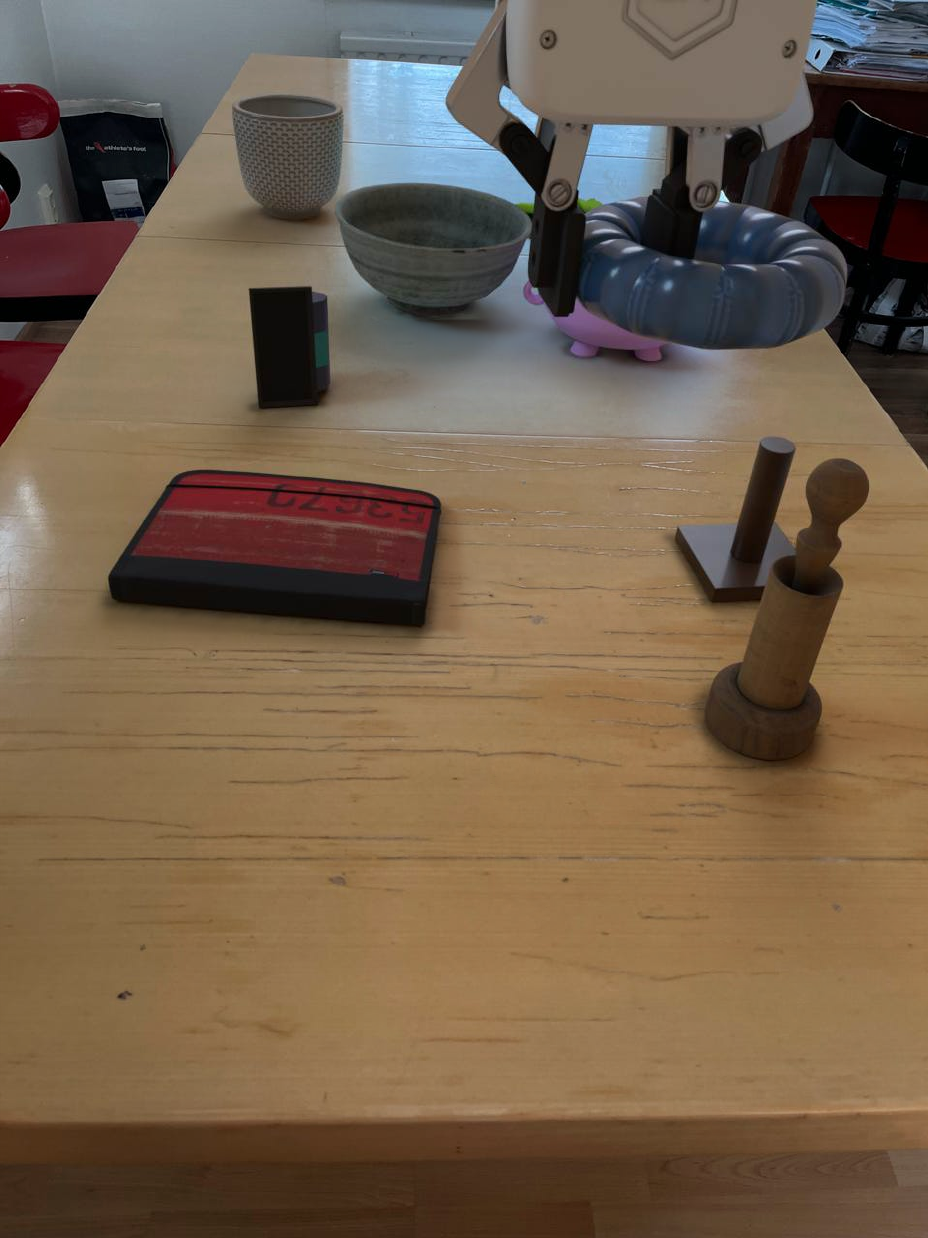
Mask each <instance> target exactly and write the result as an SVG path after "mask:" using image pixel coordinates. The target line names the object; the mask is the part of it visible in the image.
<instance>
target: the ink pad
mask: <svg viewBox="0 0 928 1238" xmlns="http://www.w3.org/2000/svg"><path fill="white" fill-rule="evenodd" d="M441 515H442V502H441V500H440V498H439V497H438V496H436V494H435V495H434V494H433V493H431V492H427V491H424V490H421V489H413V488H406V487H400V486H393V485H386V484H378V483H373V482H364V481H355V480H347V479H346V480H345V479H334V478H324V477H314V476H301V475H299V476H298V475H288V474H278V473H277V474H275V473H268V472H267V473H264V472H253V471H239V470H237V471H236V470H221V469H193V470H187V471H183V472H180V473H178V474H176V475H175V476H173V477H172V479H171V480H169V483H168V484H167V485H166V486H165V489H164V490H163V491H162V493H161V495H160V496H159V497H158V499H157V501H156V502H155V504H154V505H153V506H152V508H151V509H150V511H149V513H148V514H147V515H146V517H145V518H144V519H143V521H142V522H141V524H140V526H139V527H138V528H137V530H136V531H135V533H134V535H133V536H132V538H131V539H130V541H129V542H128V544H127V545H126V547H125V548H124V550H123V551H122V553H121V554H120V556H119V557H118V559H117V561H116V562H115V564H114V565H113V567H112V568H111V570H110V572H109V574H108V576H107V581H108V582H107V583H108V587H109V592H110V596H111V599H113V600H115V601H120V602H121V601H127V602H128V601H129V602H136V603H148V604H157V605H169V606H177V607H178V606H179V607H190V608H191V607H192V608H200V609H201V608H202V609H215V610H226V611H238V612H239V611H240V612H251V613H252V612H253V613H261V614H262V613H265V614H277V615H287V616H288V615H289V616H299V617H300V616H301V617H314V618H325V619H337V620H338V619H339V620H351V621H361V622H362V621H363V622H376V623H387V624H388V623H389V624H400V625H401V624H402V625H412V626H413V625H414V626H419V627H420V626H424V625H425V624H426V612H427V607H428V602H429V601H428V600H429V593H430V589H431V588H430V586H431V580H432V574H433V567H434V560H435V552H436V545H437V539H438V531H439V522H440V516H441Z"/></svg>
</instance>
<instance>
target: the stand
mask: <svg viewBox="0 0 928 1238" xmlns="http://www.w3.org/2000/svg"><path fill="white" fill-rule="evenodd" d="M796 450H797V447H796V445H795V443H794V442H792V441H790V440H789V439H787V438H785V437H782V436H775V435H774V436H773V435H771V436H764V437H763V438H761V439H760V441H759V444H758V448H757V450H756V451H757V452H756V455H755V458H754V462H753V466H752V469H751V474H750V476H749V481H748V483H747V484H748V485H747V487H746V492H745V495H744V498H743V502H742V507H741V509H740V513H739V517H738V519H737V522H736V523H733V522H732V523H715V524H713V523H712V524H693V525H677V527H676V531H675V535H674V540H675V542H676V544H677V546H678V547H679V549H680V550H681V552H682V554H683V556H684V557H685V560H686V561H687V563H688V564H689V566H690V568H691V570H692V571H693V573H694V574H695V576H696V578H697V579H698V581H699V583H700V584H701V586H702V588H703V589H704V592H705V593H706V595H707V596H708V598H709V600H710V602H711V603H719V602H736V601H753V600H754V601H755V600H761V599H762V595H763V592H764V589H765V585H766V582H767V578H768V575H769V571H770V568H771V565H772V563H773V562H774V561H775V560H777V559H778V558H780V557H783V556H788V555H796V546H794V545H793V543H792V542H791V540H790V539H789V538H788V536H786V534H785V533H784V532H783V530H782V529H781V527H780V526H779V525H778V523H777V522H776V521H775V520H776V517H777V513H778V510H779V506H780V503H781V500H782V496H783V493H784V490H785V487H786V483H787V480H788V477H789V472H790V470H791V467H792V463H793V460H794V456H795V454H796Z"/></svg>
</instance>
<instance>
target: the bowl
mask: <svg viewBox="0 0 928 1238" xmlns="http://www.w3.org/2000/svg"><path fill="white" fill-rule="evenodd" d="M515 204H516V203H513V202H511V201H509V200H507V199H505V198H503V197H499V196H497V195H494V194H491V193H488V192H485V191H481V190H476V189H473V188H467V187H462V186H456V185H451V184H450V185H449V184H441V183H432V182H391V183H380V184H373V185H368V186H363V187H360V188H357V189H354V190H351V191H349V192H347V193H346V194H344V195H342V196H341V197H340V198H339V199H338V200H337V201H336V203H335V204H334V210H333V211H334V212H333V213H334V215H335V217H336V219H337V221H338V224H339V230H340V233H341V238H342V241H343V244H344V248H345V250H346V253H347V255H348V257H349V259H350V262H351V263H352V265H353V268H354V270H356V273H358V275H359V276H360V277H361V279H363V280H364V281H365V282H366V283H367V284H368V285H369V286H370V287H372V288H373V289H374V290H375V291H377V292H378V293H381V294H382V295H384V296H386V299H387V301H388V302H389V303H390V304H391V305H393V307H395V308H396V309H399V310H401V311H402V312H403V311H404V312H406V313H410V314H413V315H417V316H423V317H437V318H438V317H448V316H453V315H457V314H460V313H463V312H464V311H466V310H467V309H469V306H471V305H470V304H471V303H473V302H476V301H479V300H482V299H484V298H486V297H488V296H490V295H491V294H492V293H493V292H494V291H496V290H497V289H498V288H499V287H501V285H503V283H504V282H505V281H506V279H507V278H508V277H509V276H510V275H511V274H512V272H513V271H514V269H515V266H516V265H517V263H518V260H519V257H520V255H521V253H522V251H523V249H524V246H525V244H526V241H527V240H528V238H529V235H530V233H531V229H532V224H531V219H530V217H529V216H528V215H527V214H526V213H525V212H524V211H523V210H522V209H521V208H519V207H518V206H517V205H515Z"/></svg>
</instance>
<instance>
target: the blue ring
mask: <svg viewBox="0 0 928 1238" xmlns="http://www.w3.org/2000/svg"><path fill="white" fill-rule="evenodd" d="M648 197H649V196H638V197H633V198H628V199H623V200H619V201H614V202H610V203H609V202H608V203H605V204H603V205H600V206H598V207H595V208H593V209H591V210H590V211H588V212H587V213H586V214H585V216H586V227H585V234H584V242H583V249H582V256H581V264H580V271H579V279H578V286H577V294H576V299H577V300H578V302H579V303H580V305H581V306H582V307H583V308H584V309H585V310H586V311H587V312H589V313H590V314H592V315H594V316H596V317H598V318H600V319H602V320H605V321H607V322H609V323H611V324H613V325H616V326H618V327H620V328H622V329H624V330H626V331H629V332H631V333H633V334H635V335H637V336H640V337H643V338H648V339H653V340H658V341H663V342H669V343H670V344H675V345H681V346H685V347H688V348H689V347H690V348H694V349H695V348H696V349H700V350H708V351H723V350H726V351H727V350H766V349H767V350H768V349H775V348H780V347H782V346H786V345H787V344H791V343H792V342H796V341H798V340H801V339H803V338H806V337H808V336H812V335H814V334H816V333H819V332H820V331H822V330H823V329H825V328H826V327H828V326H829V325H830V324H831V323H832V322H833V321H834V320H835V319H836V318H837V316H838V315H839V313H840V311H841V309H842V307H843V304H844V300H845V296H846V288H847V281H848V266H847V262H846V258H845V257H844V254H843V253H842V251H841V250H840V249H839V248H838V246H837V245H836V244H834V243H833V242H832V241H831V240H828V239H827V238H826V237H824V236H823V235H821V234H820V233H819V232H818V231H817V230H814V229H813V228H812V227H811V226H809V225H807V224H806V223H804V222H802V221H799V220H797V219H794V218H791V217H788V216H785V215H782V214H778V213H775V212H772V211H770V210H766V209H763V208H760V207H757V206H754V205H750V204H744V203H736V202H731V201H724V200H719V201H718V203H717V204H716V205H715V206H714V207H713V208H712V209H710V210H709V211H705V212H703V215H702V220H701V225H700V230H699V235H698V240H697V245H696V250H695V255H694V260H692V259H686V258H680V257H674V256H669V255H666V254H663V253H661V252H658V251H655V250H653V249H650V248H648V247H645V246H643V245H640V242H641V236H642V230H643V224H644V218H645V212H646V206H647V200H648ZM669 343H668V344H669Z"/></svg>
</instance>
